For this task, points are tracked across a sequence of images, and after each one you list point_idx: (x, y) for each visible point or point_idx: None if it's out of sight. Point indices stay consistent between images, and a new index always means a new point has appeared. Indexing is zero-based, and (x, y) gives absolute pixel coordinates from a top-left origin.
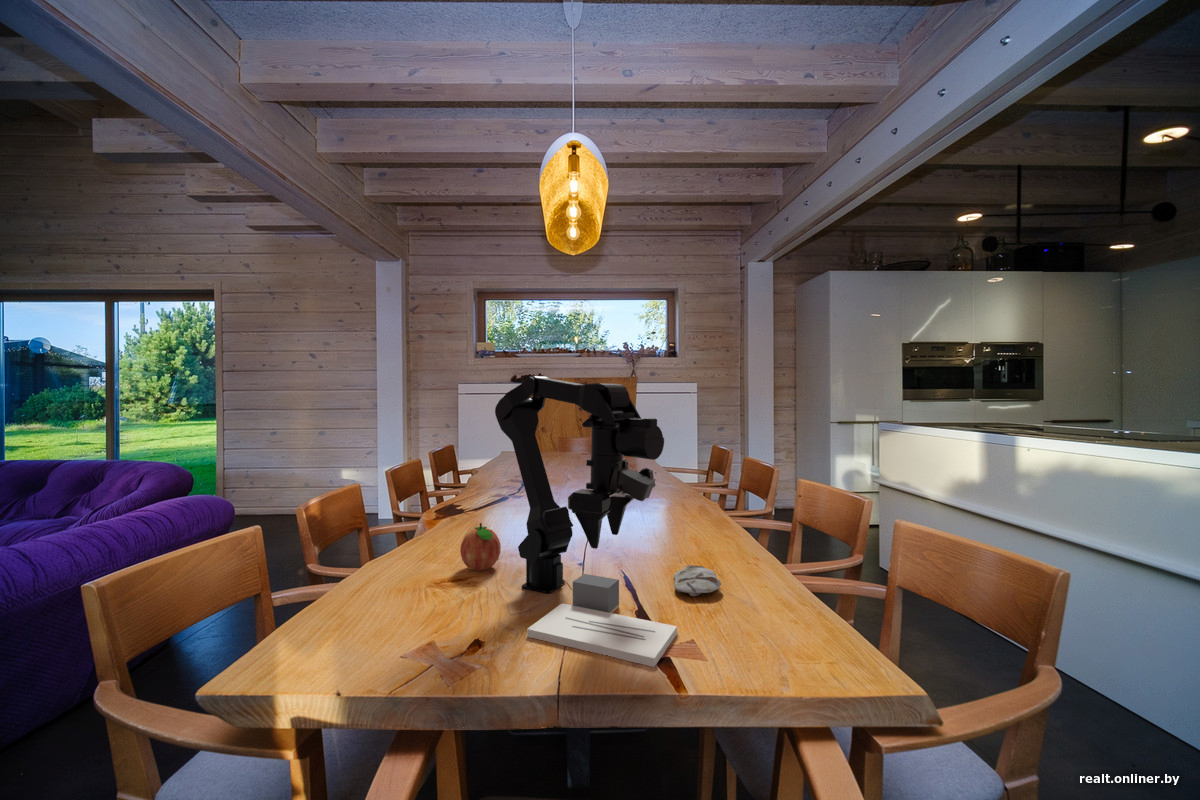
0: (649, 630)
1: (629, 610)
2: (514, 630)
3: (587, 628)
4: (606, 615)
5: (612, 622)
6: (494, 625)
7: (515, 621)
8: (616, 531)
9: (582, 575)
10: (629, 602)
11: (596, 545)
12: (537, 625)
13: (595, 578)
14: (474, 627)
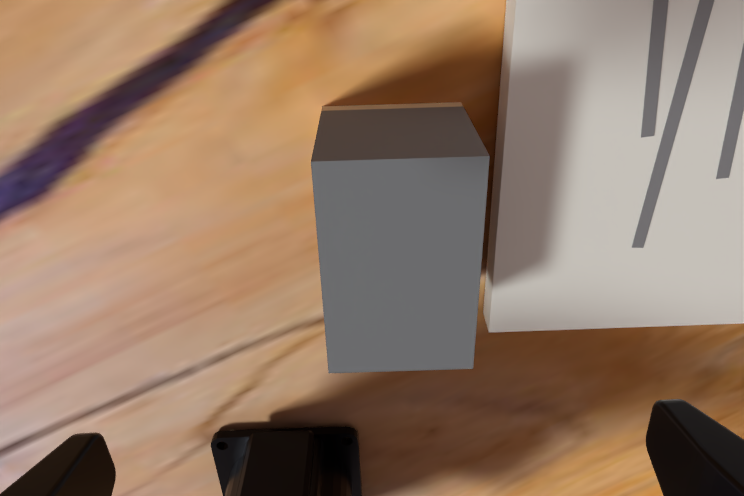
0: None
1: (337, 31)
2: (716, 363)
3: (732, 102)
4: (546, 87)
5: (627, 14)
6: None
7: (641, 396)
8: (84, 468)
9: (359, 369)
10: (237, 79)
11: (713, 422)
12: (740, 306)
13: (366, 294)
14: None
